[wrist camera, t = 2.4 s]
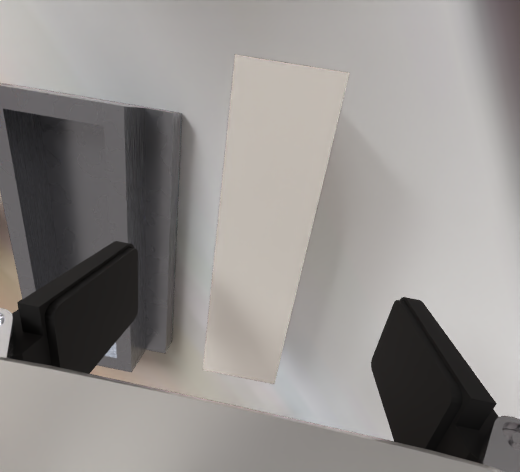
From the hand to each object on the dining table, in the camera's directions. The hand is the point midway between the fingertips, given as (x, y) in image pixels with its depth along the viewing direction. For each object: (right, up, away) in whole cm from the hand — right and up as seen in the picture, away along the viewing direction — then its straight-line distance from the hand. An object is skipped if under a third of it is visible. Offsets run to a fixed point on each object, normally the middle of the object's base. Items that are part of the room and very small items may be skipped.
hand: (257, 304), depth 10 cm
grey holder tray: (-13, +3, +13) cm, 18 cm away
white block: (+1, +5, +11) cm, 12 cm away
